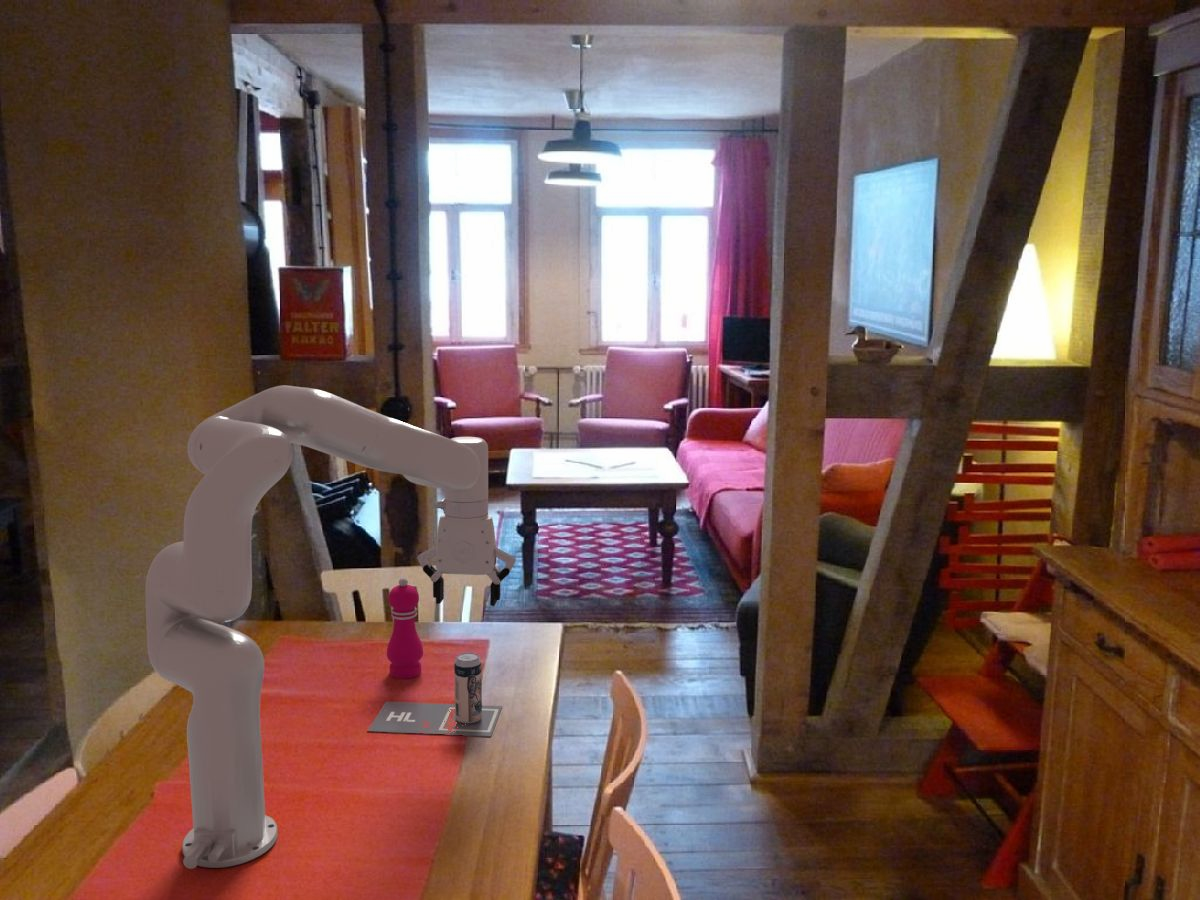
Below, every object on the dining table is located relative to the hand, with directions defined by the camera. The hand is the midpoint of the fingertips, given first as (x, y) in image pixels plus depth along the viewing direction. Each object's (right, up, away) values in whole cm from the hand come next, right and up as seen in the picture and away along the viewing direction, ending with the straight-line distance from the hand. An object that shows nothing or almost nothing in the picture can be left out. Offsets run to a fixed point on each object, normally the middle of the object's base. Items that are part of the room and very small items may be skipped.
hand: (466, 602), depth 173 cm
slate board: (-6, -22, +5) cm, 23 cm away
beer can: (0, -22, +4) cm, 22 cm away
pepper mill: (-16, -18, +25) cm, 35 cm away
